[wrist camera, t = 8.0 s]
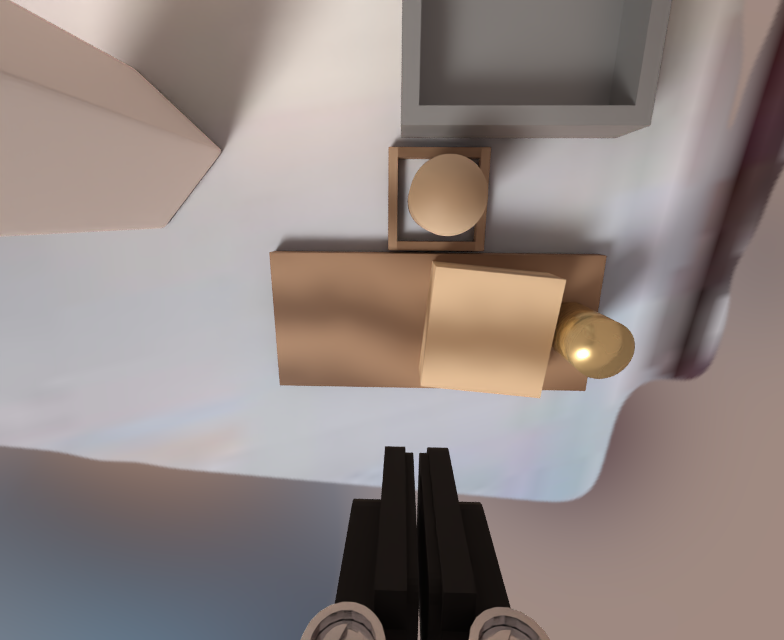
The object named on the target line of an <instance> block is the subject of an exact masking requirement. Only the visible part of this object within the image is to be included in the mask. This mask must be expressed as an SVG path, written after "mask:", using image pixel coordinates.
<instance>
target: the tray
mask: <svg viewBox="0 0 784 640" xmlns="http://www.w3.org/2000/svg"><path fill="white" fill-rule="evenodd" d="M671 3H672V0H402V83H401V138H617V137H620V136H623V135H625V134H628V133H631V132H634V131H636V130H639V129H642V128H644V127H647V126H650V125H651V119H652V113H653V107H654V102H655V96H656V90H657V84H658V78H659V73H660V67H661V61H662V55H663V50H664V44H665V38H666V32H667V26H668V21H669V15H670V9H671Z"/></svg>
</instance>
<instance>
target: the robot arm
mask: <svg viewBox="0 0 784 640" xmlns="http://www.w3.org/2000/svg"><path fill="white" fill-rule="evenodd" d="M415 504H416V503H415V481H414V459H413V453H405V447H390V446H385V455H384V468H383V482H382V495H381V500H380V499H354V500H353V503H352V508H351V514H350V520H349V525H348V531H347V537H346V542H345V549H344V554H343V560H342V565H341V571H340V577H339V583H338V589H337V594H336V600H335V604H333V605H330V606H328V607H327V608H325V609H324V610H322V611H320V612H319V613H318V614H317V615H316V616H315V617H314V618H313V619H312V620H311V621H310V622H309V624H308V626H307V628H306V630H305V632H304V634H303V635H302V638H301V640H417V638H418V613H419V617H420V640H550V639H549V637H548V635H547V634H546V632H545V631H544V630H543V629H542V628H541V627H540V626H539V625H538V624H537V623H536V622H535V621H534V620H533V619H532V618H530V617H528V616H527V615H525V614H524V613H522V612H520V611H517V610H514V609H511V608H510V604H509V600H508V597H507V593H506V590H505V586H504V582H503V579H502V575H501V572H500V568H499V564H498V560H497V557H496V553H495V550H494V546H493V543H492V539H491V535H490V531H489V528H488V524H487V521H486V517H485V513H484V510H483V507H482V504H481V503H480V502H459V501H458V495H457V490H456V485H455V480H454V475H453V470H452V465H451V460H450V455H449V450H448V448H430V447H428V448H427V453H419V476H418V506H417V525H416V505H415Z"/></svg>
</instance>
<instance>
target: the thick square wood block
mask: <svg viewBox="0 0 784 640" xmlns="http://www.w3.org/2000/svg"><path fill="white" fill-rule="evenodd" d="M565 284H566V279H563V278H560V277H558V276H555V275H553V274H550V273H546V272H537V271H527V270H517V269H507V268H497V267H487V266H477V265H467V264H457V263H447V262H437V261H432V267H431V275H430V283H429V291H428V299H427V307H426V315H425V323H424V331H423V339H422V347H421V355H420V363H419V375H420V384H421V386H424V387H434V388H444V389H454V390H464V391H474V392H484V393H494V394H504V395H514V396H524V397H534V398H540V396H541V391H542V387H543V382H544V378H545V373H546V369H547V364H548V360H549V356H550V351H551V347H552V342H553V338H554V333H555V329H556V324H557V320H558V315H559V311H560V306H561V302H562V297H563V293H564V289H565Z"/></svg>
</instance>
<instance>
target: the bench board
mask: <svg viewBox="0 0 784 640" xmlns="http://www.w3.org/2000/svg"><path fill="white" fill-rule="evenodd" d="M606 257H607V256H605V255H600V254H543V253H437V252H332V251H273V252H270V266H271V279H272V291H273V304H274V316H275V329H276V341H277V354H278V367H279V379H280V385H295V386H350V387H405V388H434V387H424V386H421V384H420V375H419V363H420V355H421V347H422V339H423V331H424V323H425V315H426V307H427V299H428V291H429V283H430V275H431V267H432V261H437V262H447V263H457V264H467V265H477V266H487V267H497V268H507V269H517V270H527V271H537V272H546V273H550V274H553V275H555V276H558V277H560V278H563V279H566V284H565V289H564V293H563V297H562V302H561V303H563V302H577V303H580V304H582V305H584V306H586V307H588V308H590V309H592V310H594V311H596V312H598V308H599V301H600V295H601V289H602V282H603V276H604V270H605V263H606ZM586 383H587V376H585V375H583V374H582V373H580V372H579V371H578V370H577V369H576V368H575V367H574V366H573V365H571V364H570V363H569V362H568V361H567V360H566V359H565V358H563V357H562V356H561V355H560V354H559V353H558V352H557V351H555V350H554V349H553V348H552V347H551V351H550V356H549V360H548V364H547V369H546V373H545V378H544V382H543V387H542V390H570V391H585V390H586Z"/></svg>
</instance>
